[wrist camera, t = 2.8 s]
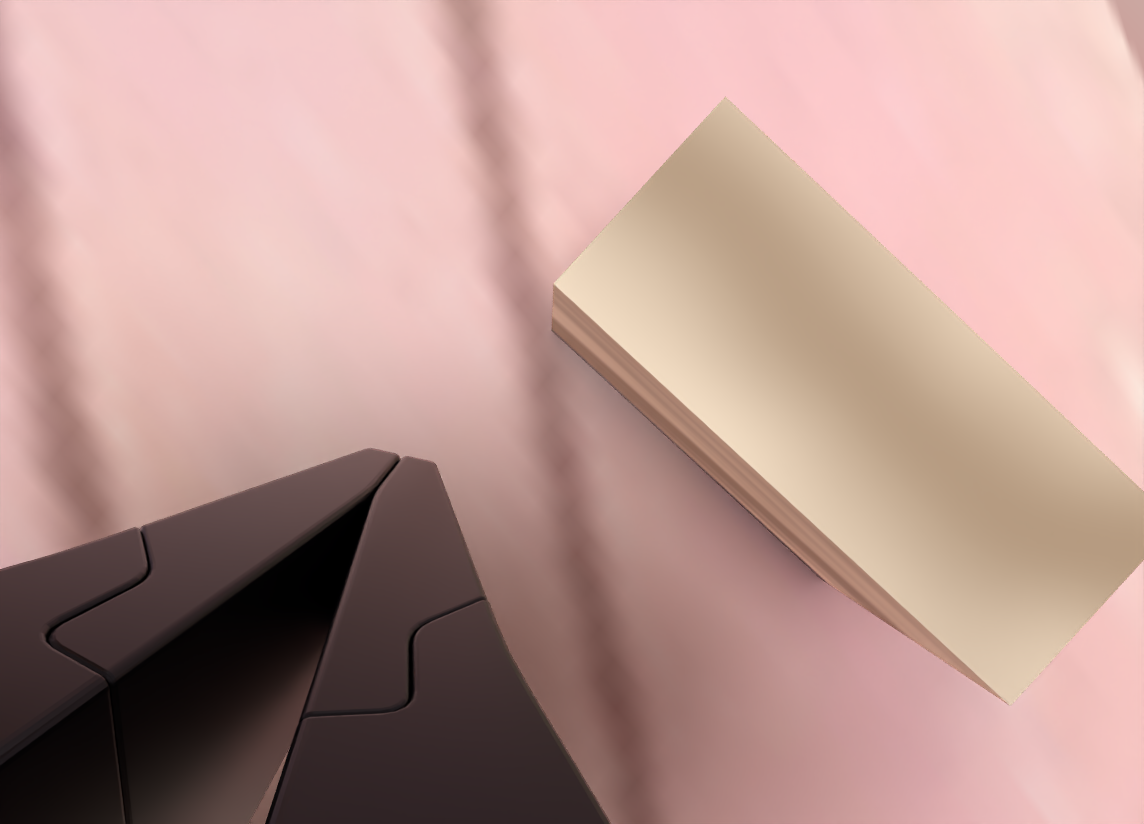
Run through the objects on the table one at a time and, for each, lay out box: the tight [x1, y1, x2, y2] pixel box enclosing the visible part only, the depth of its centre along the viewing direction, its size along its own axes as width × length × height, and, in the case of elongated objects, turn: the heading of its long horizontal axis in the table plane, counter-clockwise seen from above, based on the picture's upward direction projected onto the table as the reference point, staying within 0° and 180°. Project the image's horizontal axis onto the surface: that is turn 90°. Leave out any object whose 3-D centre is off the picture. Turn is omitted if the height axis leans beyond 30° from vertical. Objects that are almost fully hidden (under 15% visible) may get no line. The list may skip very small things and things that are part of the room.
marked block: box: [552, 97, 1144, 706], centre depth 17 cm, size 4×10×9 cm, turn 48°
